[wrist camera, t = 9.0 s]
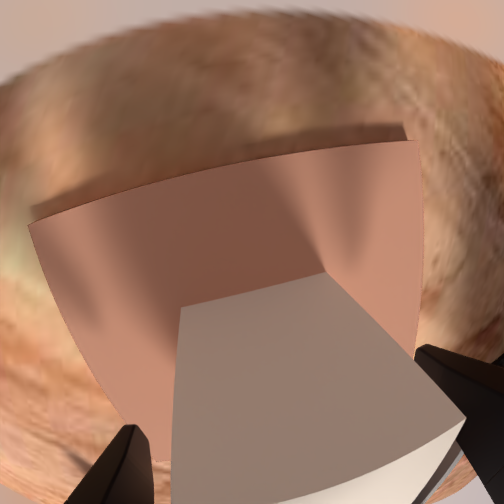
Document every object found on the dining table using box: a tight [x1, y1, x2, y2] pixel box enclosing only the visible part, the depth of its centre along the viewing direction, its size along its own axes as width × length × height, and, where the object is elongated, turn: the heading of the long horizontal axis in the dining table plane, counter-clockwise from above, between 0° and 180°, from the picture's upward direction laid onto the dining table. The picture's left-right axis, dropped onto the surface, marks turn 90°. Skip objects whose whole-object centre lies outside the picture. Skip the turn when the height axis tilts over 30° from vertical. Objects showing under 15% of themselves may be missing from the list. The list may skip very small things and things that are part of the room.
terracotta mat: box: [28, 140, 424, 462], centre depth 11 cm, size 14×13×1 cm
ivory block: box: [171, 272, 466, 504], centre depth 7 cm, size 5×5×7 cm
